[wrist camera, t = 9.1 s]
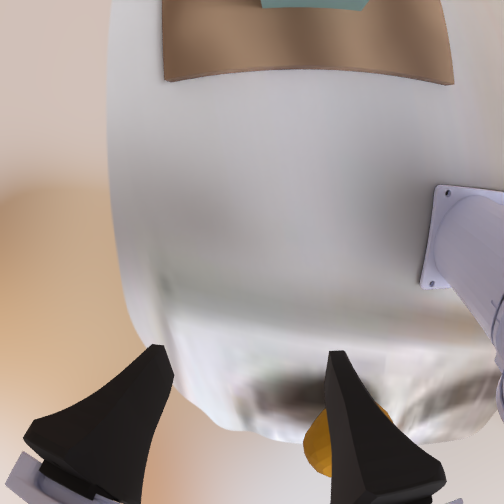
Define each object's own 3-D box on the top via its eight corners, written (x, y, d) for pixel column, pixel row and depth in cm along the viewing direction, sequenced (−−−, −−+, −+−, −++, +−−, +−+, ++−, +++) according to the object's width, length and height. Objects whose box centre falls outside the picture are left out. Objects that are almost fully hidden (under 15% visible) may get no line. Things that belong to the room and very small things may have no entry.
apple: (307, 374, 24) (309, 459, 16) (397, 370, 24) (419, 446, 15) (299, 422, 28) (297, 491, 20) (373, 419, 27) (384, 483, 19)
